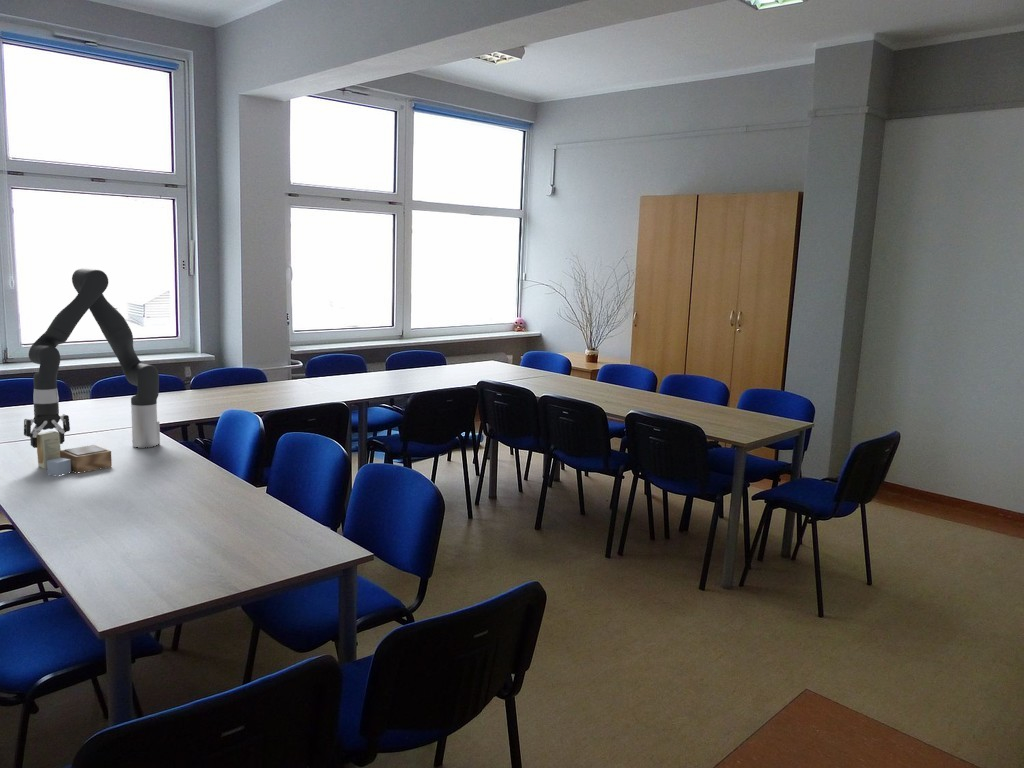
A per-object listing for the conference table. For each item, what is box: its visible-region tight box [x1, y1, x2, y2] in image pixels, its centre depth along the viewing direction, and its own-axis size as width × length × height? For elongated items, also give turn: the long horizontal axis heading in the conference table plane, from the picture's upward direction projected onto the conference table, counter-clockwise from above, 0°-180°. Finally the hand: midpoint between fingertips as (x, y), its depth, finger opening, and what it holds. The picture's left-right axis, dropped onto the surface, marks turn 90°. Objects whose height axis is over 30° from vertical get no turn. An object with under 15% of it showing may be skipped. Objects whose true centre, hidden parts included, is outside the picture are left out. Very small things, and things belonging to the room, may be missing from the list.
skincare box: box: [36, 430, 61, 469], centre depth 270 cm, size 6×4×12 cm
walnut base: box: [60, 444, 113, 474], centre depth 271 cm, size 12×12×6 cm
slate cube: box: [46, 458, 72, 477], centre depth 262 cm, size 5×5×5 cm
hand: (47, 445), depth 269 cm, fingers open, 8 cm apart
